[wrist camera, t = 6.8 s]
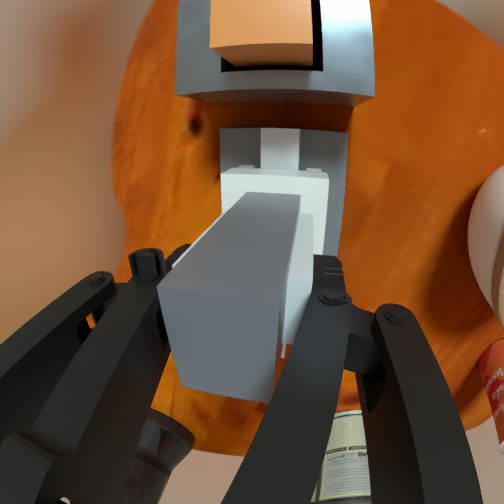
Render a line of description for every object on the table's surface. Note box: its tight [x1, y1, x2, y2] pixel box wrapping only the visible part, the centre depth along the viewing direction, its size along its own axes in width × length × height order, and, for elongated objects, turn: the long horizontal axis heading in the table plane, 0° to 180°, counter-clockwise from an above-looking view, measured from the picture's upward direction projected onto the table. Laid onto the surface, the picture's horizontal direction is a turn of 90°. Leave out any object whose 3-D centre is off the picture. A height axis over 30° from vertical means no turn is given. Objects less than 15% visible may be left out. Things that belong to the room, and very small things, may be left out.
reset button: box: [210, 0, 313, 67], centre depth 9 cm, size 4×4×4 cm
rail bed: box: [220, 128, 348, 358], centre depth 21 cm, size 9×19×3 cm, turn 0°
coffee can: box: [310, 410, 371, 504], centre depth 26 cm, size 10×10×14 cm
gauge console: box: [176, 0, 375, 107], centre depth 13 cm, size 11×7×7 cm, turn 90°
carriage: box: [157, 165, 329, 404], centre depth 13 cm, size 6×6×14 cm
